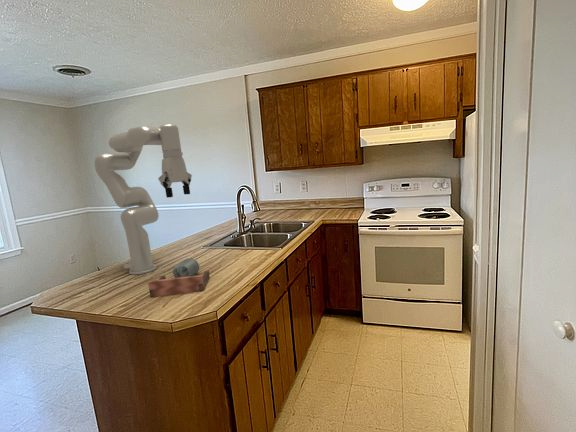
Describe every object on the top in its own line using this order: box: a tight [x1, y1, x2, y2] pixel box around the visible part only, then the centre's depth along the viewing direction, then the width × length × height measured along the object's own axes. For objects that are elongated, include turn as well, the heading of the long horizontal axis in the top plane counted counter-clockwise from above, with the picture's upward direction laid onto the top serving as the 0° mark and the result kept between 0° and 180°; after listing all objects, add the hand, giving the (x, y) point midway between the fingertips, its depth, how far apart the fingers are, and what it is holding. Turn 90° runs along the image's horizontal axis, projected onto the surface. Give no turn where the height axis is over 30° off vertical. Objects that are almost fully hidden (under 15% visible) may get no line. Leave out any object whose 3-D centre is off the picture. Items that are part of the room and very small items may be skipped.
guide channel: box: [147, 270, 211, 298], centre depth 129 cm, size 20×15×6 cm
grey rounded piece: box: [172, 257, 200, 278], centre depth 139 cm, size 14×10×10 cm
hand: (178, 195), depth 135 cm, fingers open, 9 cm apart
